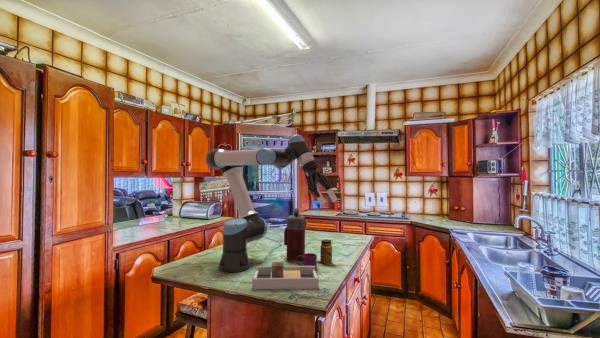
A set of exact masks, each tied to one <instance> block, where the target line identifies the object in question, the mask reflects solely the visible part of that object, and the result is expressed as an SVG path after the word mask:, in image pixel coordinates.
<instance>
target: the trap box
mask: <svg viewBox="0 0 600 338" xmlns="http://www.w3.org/2000/svg"><path fill="white" fill-rule="evenodd" d="M255 268H256V269H255V273H254V276H253V278H252V279H251V281H252V282H251V283H252V284H251V285H252V287H251V289H252V290H287V289H288V290H296V289H297V290H298V289H299V290H301V289H302V290H303V289H304V290H305V289H306V290H308V289H309V290H310V289H319V288H320V287H319V282H320V281H319V279H320V278H319V277H318V276H317V272H316V270H315V266H300V265H284V270H283V278H272V265H264V266H263V265H259V266H256V267H255Z"/></svg>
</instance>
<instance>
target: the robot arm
mask: <svg viewBox="0 0 600 338" xmlns="http://www.w3.org/2000/svg"><path fill="white" fill-rule="evenodd" d="M287 143H288V145H287V147H284V149H283V150H281V149H273V148H270V147H261V148H258V149H257V148H256V149H243V150H242V149H240V150H233V149H231V150H230V149H229V150H228V149H221V148H213V149H211V150H209V151H208V152H207V153H206V156H205V164H206V165H207V166H208V168H210V169H212V170H215V171H221V173H222V176H223V177H225V178H226V179H227V183H228V186H229V189H230V191H231V195H232V198H233V201H234V204H235V206H236V209H237V211H238V212H237V213H238V215H239V218H233V219H229V220H227V221H225V222H224V223H223V226H222V253H221V257H220V260H219V262H218V270H219V271H221V272H223V273H240V272H244V271H247V270H249V269H250V267H251V261H250V258H249V255H248V251H247V250H248V248H247V246H248V243H252V242H255V241H259V240H260V239H263V238H264V237H266V235H267V232H268V223H267V221H266V219H264V218H262V217H261V216H260V213H259V212H258V211H256V210H255V208H254V205H253V203H252V199H251V197H250V194H249V192H248V188H247V185H246V182H245V179H244V178H243V177H244V176H243V174H242V172H243V170H244V169H243V166H266V165H267V166H274V167H275V169H278V170H283V169H285V168H287V167H288V166H289V165H290V164H292V163H293V162H294V161H296V160H297V162H298V164H299V165H300V167H301V169H302V171H303V173H304V177H305V179H306V183H307V187H308V190H309V192H310V193H311V194H314V196H315V198H316V199H317V201H318V203H319V206H322V205H324V204H325V203H326V199H325V198H324V196H323V194H322V192H321V191H320V189H318V183H319V184H320V185H321V186H322V187H323V188H324V189H325V190H326V192H327V195H328V197H329V198H330V200H331V202H332V203H335V202H337V201H338V200H339V199H338V197H337V196H336V194H335V192H334V191H333V189H332V188H334V186H333V185H332V183H330V181H329V180H328V179H327V177H326V176H325V175H324V173H323V172H322V171H321V170H320V171H318V168H319V165H318V163H317V161H316V160H315V158H314V156H313V155H314V154H313V153H312V151H311V150H310V148H309V147H308V144H307V142H306V140H305V139H304V138H303V136H302V135H301V134H294V135H292V136H290V137H289V139H288V140H287Z"/></svg>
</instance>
